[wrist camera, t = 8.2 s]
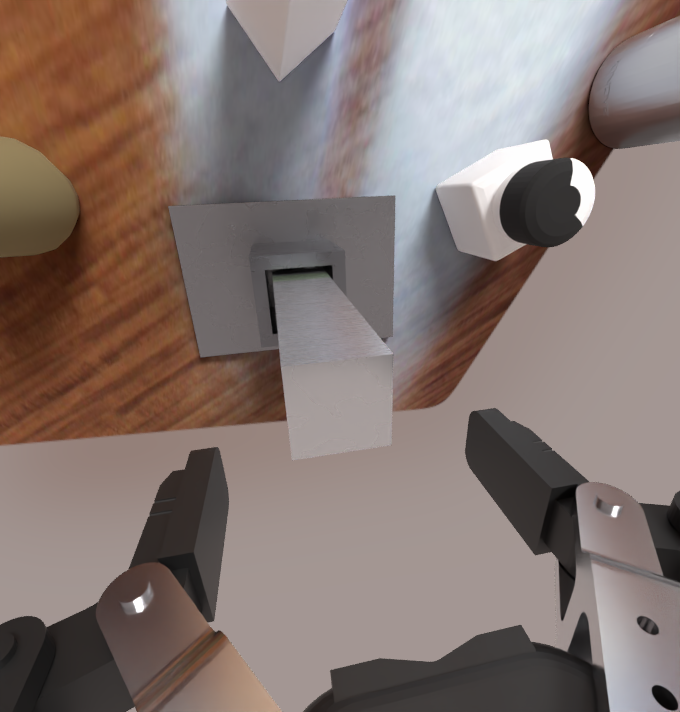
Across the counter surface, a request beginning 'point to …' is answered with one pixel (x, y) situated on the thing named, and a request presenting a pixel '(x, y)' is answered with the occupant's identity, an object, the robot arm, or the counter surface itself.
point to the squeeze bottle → (33, 202)
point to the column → (330, 368)
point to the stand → (280, 263)
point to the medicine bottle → (516, 200)
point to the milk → (287, 28)
